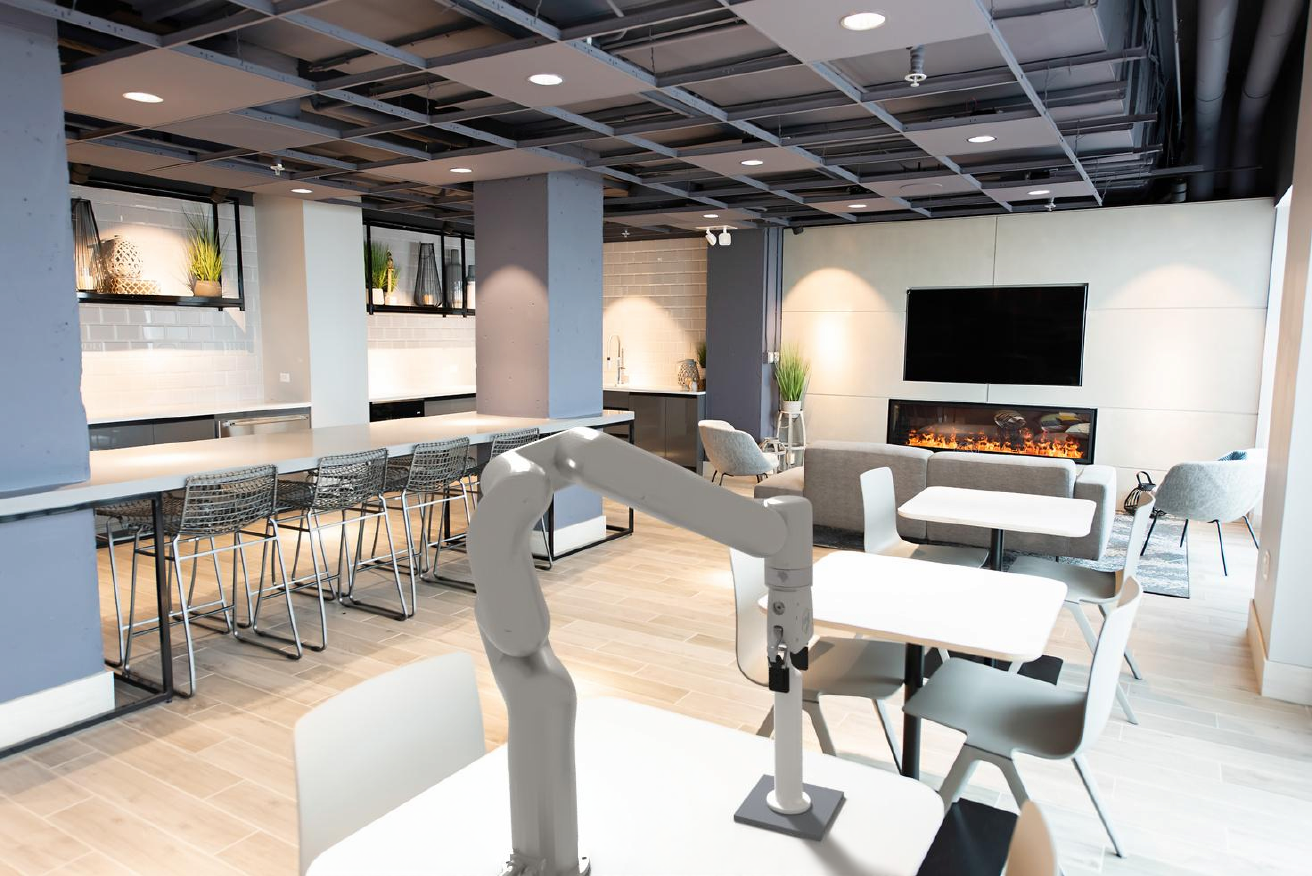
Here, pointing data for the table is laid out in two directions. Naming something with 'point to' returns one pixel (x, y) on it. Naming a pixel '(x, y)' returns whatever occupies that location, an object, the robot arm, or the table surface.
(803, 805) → the candle
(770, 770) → the table surface
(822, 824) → the mat
